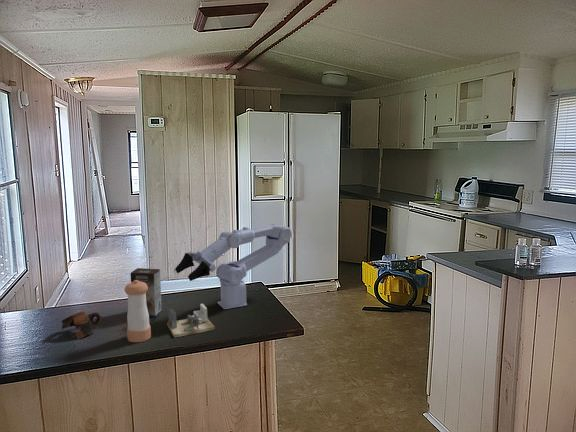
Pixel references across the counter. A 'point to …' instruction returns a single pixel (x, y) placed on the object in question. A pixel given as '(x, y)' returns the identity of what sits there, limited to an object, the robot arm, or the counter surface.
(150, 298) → the coffee box
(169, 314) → the anvil
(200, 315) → the grey stepped block
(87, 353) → the counter surface
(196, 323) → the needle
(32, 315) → the counter surface
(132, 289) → the salt shaker
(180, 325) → the gauge base
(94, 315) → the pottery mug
